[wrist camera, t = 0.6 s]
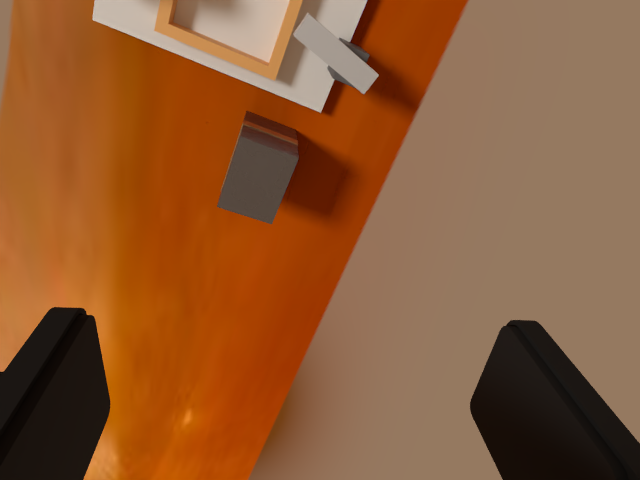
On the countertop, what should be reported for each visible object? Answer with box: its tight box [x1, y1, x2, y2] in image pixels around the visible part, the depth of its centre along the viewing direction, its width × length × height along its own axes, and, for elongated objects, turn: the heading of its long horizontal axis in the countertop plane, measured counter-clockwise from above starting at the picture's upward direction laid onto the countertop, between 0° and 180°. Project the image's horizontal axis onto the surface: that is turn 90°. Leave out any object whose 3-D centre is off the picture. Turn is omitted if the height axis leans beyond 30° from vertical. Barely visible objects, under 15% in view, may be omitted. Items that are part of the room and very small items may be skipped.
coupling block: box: [217, 111, 299, 224], centre depth 35 cm, size 5×6×7 cm
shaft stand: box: [92, 0, 379, 112], centre depth 28 cm, size 21×10×7 cm, turn 67°
